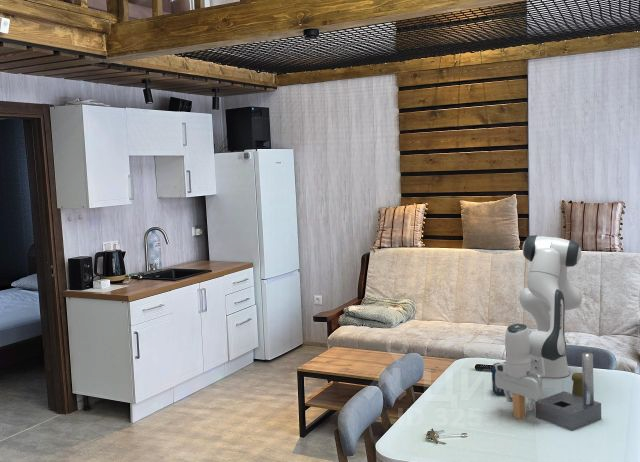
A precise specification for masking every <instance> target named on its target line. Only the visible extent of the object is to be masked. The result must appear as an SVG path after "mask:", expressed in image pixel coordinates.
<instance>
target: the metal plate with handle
mask: <svg viewBox="0 0 640 462" xmlns="http://www.w3.org/2000/svg"><path fill="white" fill-rule="evenodd" d="M581 367H582V368H581V369H582V370H581V371H582V372H581V373H582V375H583V397H580V396H577V395H574V394H572V392H571V393H570V392H567V391H564V390H563V391H560V392H558V393H555V394H552V395H550V396H547V397H543V398H542V399H540V400H535V402H534V407H535V408H534V409H535V412H534V413H535V418H537V419H539V420H542V421H545V422H548V423H551V424H553V425H556V426H558V427H561V428H563V429H564V428H565V429H567V430H570V431H571V432H573V431H575V430H578V429H580V428H583V427H586V426H588V425H590V424H593V423H595V422H599V421H600V420H602V403H601V402H599V401H596V400H595V397H594V396H595V393H594V392H595V391H594V390H595V389H594V386H595V385H594V353H591V352H582V353H581Z"/></svg>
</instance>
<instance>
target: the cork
mask: <svg viewBox="0 0 640 462" xmlns="http://www.w3.org/2000/svg"><path fill="white" fill-rule="evenodd" d="M571 380H572V390H571V394H574V395H577V396H580V397H583V375H582V372H573V373H572V374H571Z"/></svg>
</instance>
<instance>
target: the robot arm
mask: <svg viewBox="0 0 640 462" xmlns="http://www.w3.org/2000/svg"><path fill="white" fill-rule="evenodd" d="M522 253H523V257H524V258H525V259H526V260H528V261H529V262H531V263H530V267H529V271H528V275H527V281H526V284H527V287H524V288H522V290H521V292H520V294H519V303H520V305H521V307H522V308H523V309H524V310H525V311H526V312H528V313H529V314H530V315H531V316H532V317H533V318H534V321H535V323H536V328H537V329H533V328H529V327H528V326H527V325H526V324H524V323H514V324H510V325H508V326H507V327H506V330H505V337H504V350H505V353H506V358H505V361H503V362H498V363H499V364H497V365H495V369H496V370H497V371H496V372H495V384H496V386H497V387H498V388H501V389H503V390H504V393H505V395H506V396H505V398H506V403H507V402H508V403H513V396H512V395H511V393H512V394H513V393H515V394H518V395H521V396H524V397H525V398H528V399H527V400H528V401H529V402H528V403H525V407H526V409H527V410H530V411H531V410H533V408H534V404H535V401H538V400H541V399H543V398H545V392H544V385H543V379H545V378H551V379H555V378H556V379H557V378H560V379H561V378H564V377H568V376H569V375H570V374H571V372H570V369H569V365H568V360H567V359H568V358H567V342H566V336H565V335H566V330H565V329H566V328H565V314H566V313H565V312H566V311H570V310H571V311H572V310H574V309H578V308H579V307H580V306H581V304H582V302H583V296H582V292H581V290H580V289H579V288H578V287H577V286H575V285H574V284H572V283H571V282H570V281H569V279H568V273H567V272H568V267H569V268H570V267H574V266H576V265H578V263H579V261H580V260H581V257H582V249H581V245H580V243H579V242H577V241H575V240H572V239H569V240H568V239H565V238H561V237H556V236H553V237H552V236H547V235H546V236H542V235H533V234H532V235H529V236H527V237H526V239H525V240H524V241H523V244H522ZM542 378H543V379H542Z"/></svg>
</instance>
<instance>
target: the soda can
mask: <svg viewBox="0 0 640 462" xmlns="http://www.w3.org/2000/svg"><path fill="white" fill-rule="evenodd" d="M499 363H500V362H496V363H493V364H492V367H491V384H492V387H491V388H492V392H493V394H494V395H496V396H497V397H498V396H499V397H504V396H505V397H506V395H505V393H504V390H503V389H501V388H498V387H497V386H496V384H495V372H496V371H497V370H496V369H495V365H497V364H499Z"/></svg>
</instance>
